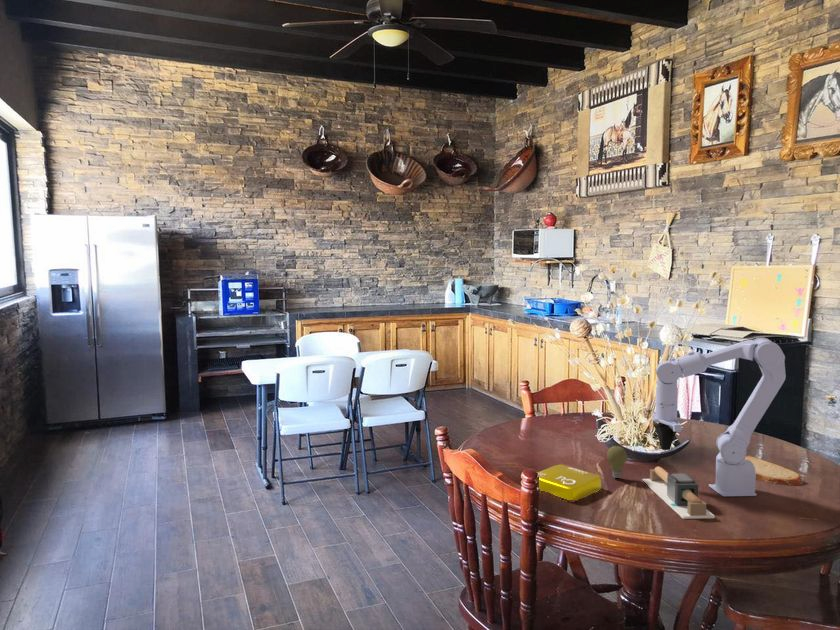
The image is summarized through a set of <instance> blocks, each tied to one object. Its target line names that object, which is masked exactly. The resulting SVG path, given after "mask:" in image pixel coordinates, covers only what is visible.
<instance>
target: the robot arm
mask: <svg viewBox="0 0 840 630" xmlns="http://www.w3.org/2000/svg"><path fill="white" fill-rule="evenodd" d="M736 359H744V360H749V361H755V362H756V363H757V364H758V367H759V369H760V371H761V377H760V380H758V382H757V384H756V386H755V388H753V391H752V392H751V394H750V396H749V397H748V399H747V400H746V403H745V404H744V405H743V407H742V409H741V411H739V414H738V415H737V417H736V419H735V420H734V421H733V423H732V424H731V425H730V426H728V427H727V429H726V430H725V431H724V432H723V433H721V434H720V435H718V437H717V438H716V448H717V449H718V450H719V452H718V454H717V455H716V456H715V483H714V484H713V483H712V484H711V483H710V484H709V483H708V486H709V487H710V488H711V489H712V490H713V491H715V492H716V493H718V494H719V495H720V496H721V497H756V496H757V493H756V481H757V480H756V471H755V467H754V465H753V463H752V462H751V461H749V460H745V457H746V456H747V450H748V447H749V445H750V441H751V437H752V434H753V433H754V431H755V429H756V428H757V426H758V424H759V422H761V420H762V418H763V416H764V415H765V413H766V411H767V410H768V408H769V407H770V405H771V404H772V401H773V400H774V399H775V397H776V396H777V394H778V392H779V390H780V389H781V388H782V386H783V385H784V382H785V381H786V377H787V375H786V366H785V365H786V363H785V361H786V356H785V354H784V352H783V350H782V349H781V347H780V346H779V345H778V344H777V343H775V342H773V341H772V340H770V338H766V337H757V338H755V339H748V340H743V341H741V342H737V343H734V344H731V345H729V346H726V347H722V348H719V349H716V350H713V351H710V352H708V353H705V354H704V353H701V352H699V351H696V352H693V351H689V352H687V354H686V355H683V356H680V357H677V358H675V357H671V358H670V360H663V361H660V362H659V363H658V364H657V366H656V368H655V374H656V376H657V379H656V386H655V411H651V421H653V422H658V423H654V424H653V427H654V430H655V431H656V434H657V438H658V441H659V446H660V449H661V450H662V451H670V450H671V448H672V444H673V441H674V438H675V436H676V434H677V433H678V432H680V433H681V432H682V424H681V423H680V421H679V419H678V393H679V388H678V380H679V379H680V378H682V379H684V378H686V377H691V376H693V375H696V374H701V373H704V372H706V370H707V368H708V367H709V366H712V365H717V364H719V363H723V362H727V361H732V360H736Z"/></svg>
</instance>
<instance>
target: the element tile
mask: <svg viewBox="0 0 840 630" xmlns="http://www.w3.org/2000/svg"><path fill="white" fill-rule="evenodd" d="M536 473H538V475H539V489H540V491H545V492H549V493H551V494H553V495H555V496H558V497H561V498H564V499H567V500H578V499H580V498H582V497H584V496H587V495H589V494H591V493H594V492H596V491H598V490H600V489H601V490H602V477H601V475H599V474H597V473H596V474H595V473H592V472H589V471H586V470H583V469H579V468H575V467H572V466H569V465H566V464H560V463H559V464H557V465H556V464H555V465H553V466H551V467H548V468H546V469H544V470H543V469H542V470H541V471H538V472H536ZM601 490H600V491H601Z"/></svg>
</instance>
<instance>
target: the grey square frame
mask: <svg viewBox="0 0 840 630" xmlns="http://www.w3.org/2000/svg"><path fill="white" fill-rule="evenodd" d="M681 489H692V493H693V494H694V495H696V496H697V497H698V498H699V484H698V483H696V482H695V483H675V504H676V505H688V501H687V500H686V499H681Z"/></svg>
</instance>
